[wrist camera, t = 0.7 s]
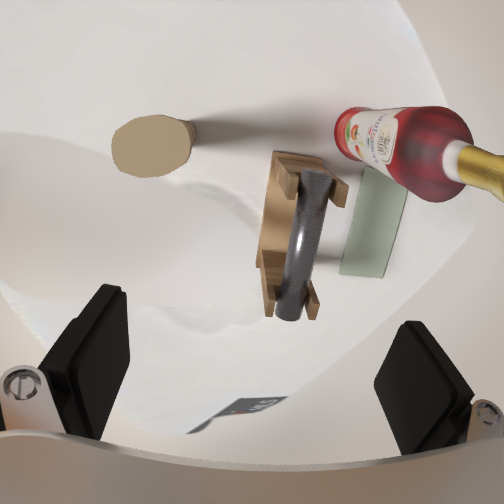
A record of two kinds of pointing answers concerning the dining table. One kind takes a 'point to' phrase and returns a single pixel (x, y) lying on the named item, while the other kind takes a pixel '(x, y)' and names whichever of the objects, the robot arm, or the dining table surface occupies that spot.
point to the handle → (152, 145)
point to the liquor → (420, 150)
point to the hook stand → (286, 223)
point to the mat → (373, 225)
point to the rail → (303, 242)
